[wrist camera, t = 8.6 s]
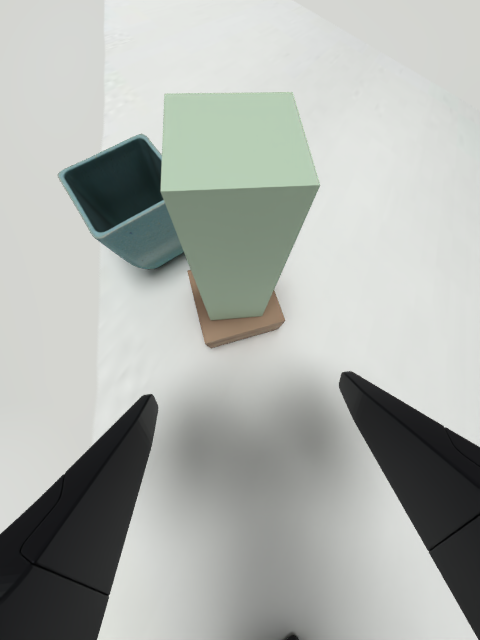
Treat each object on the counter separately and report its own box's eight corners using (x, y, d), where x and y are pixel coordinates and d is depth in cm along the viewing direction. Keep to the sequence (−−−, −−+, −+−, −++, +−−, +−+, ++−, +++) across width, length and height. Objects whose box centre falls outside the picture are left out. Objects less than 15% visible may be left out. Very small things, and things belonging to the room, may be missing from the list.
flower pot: (117, 239, 25) (53, 171, 17) (174, 208, 27) (142, 130, 18) (148, 289, 23) (94, 240, 15) (208, 252, 25) (191, 188, 16)
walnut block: (277, 329, 22) (285, 320, 19) (211, 348, 22) (205, 343, 18) (256, 270, 24) (259, 251, 21) (196, 287, 24) (187, 270, 20)
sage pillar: (262, 316, 18) (320, 185, 6) (210, 320, 18) (160, 191, 6) (256, 271, 20) (292, 92, 8) (208, 274, 20) (164, 93, 7)
